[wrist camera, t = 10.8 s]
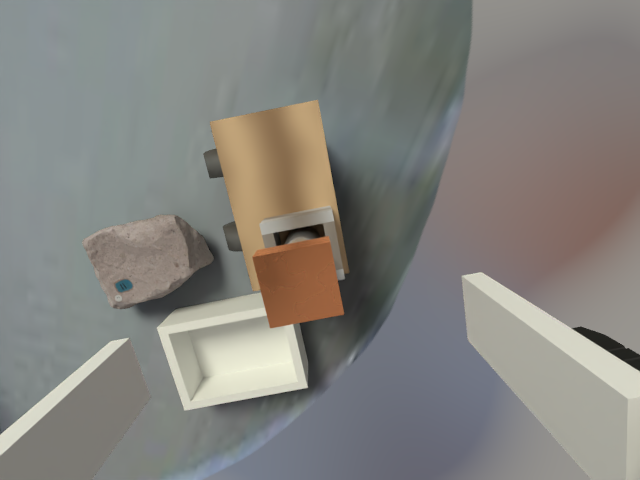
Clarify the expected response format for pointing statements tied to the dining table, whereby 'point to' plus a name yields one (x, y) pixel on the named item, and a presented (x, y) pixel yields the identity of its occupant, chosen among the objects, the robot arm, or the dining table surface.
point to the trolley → (276, 180)
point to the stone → (145, 258)
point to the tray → (231, 352)
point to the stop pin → (298, 279)
